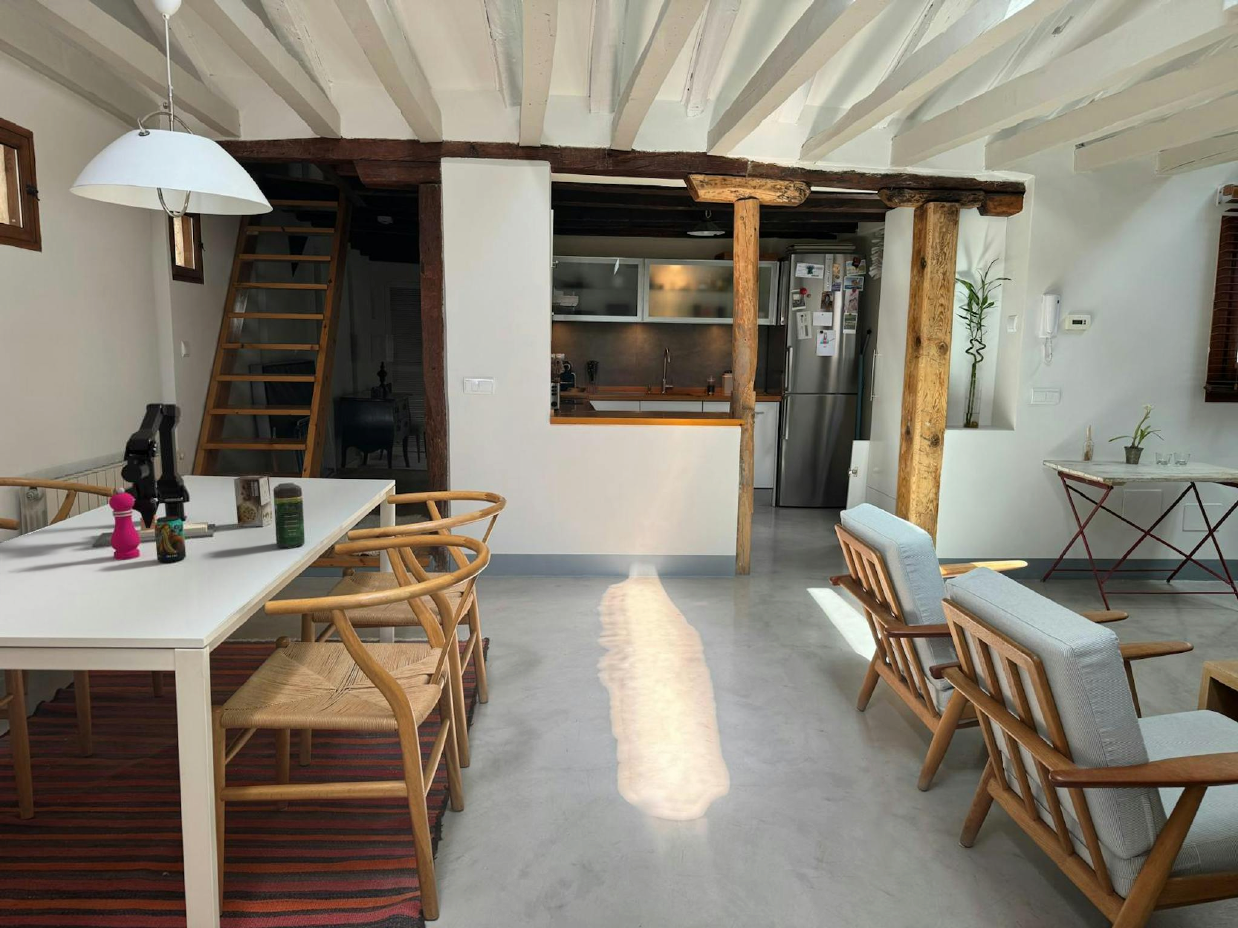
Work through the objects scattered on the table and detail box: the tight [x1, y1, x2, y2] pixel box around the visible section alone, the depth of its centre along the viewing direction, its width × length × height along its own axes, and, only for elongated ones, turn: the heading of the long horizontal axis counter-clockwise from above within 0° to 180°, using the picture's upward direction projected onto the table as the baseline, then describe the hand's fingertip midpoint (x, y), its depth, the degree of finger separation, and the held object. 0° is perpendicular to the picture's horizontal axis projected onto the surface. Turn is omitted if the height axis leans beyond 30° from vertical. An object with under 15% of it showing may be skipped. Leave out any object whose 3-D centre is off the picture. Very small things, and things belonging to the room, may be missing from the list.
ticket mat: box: [92, 521, 216, 548], centre depth 252 cm, size 16×32×2 cm, turn 114°
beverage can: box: [154, 516, 187, 564], centre depth 224 cm, size 7×7×12 cm
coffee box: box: [233, 475, 273, 527], centre depth 267 cm, size 9×6×16 cm
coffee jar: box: [272, 482, 306, 549], centre depth 240 cm, size 10×8×19 cm
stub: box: [138, 514, 158, 537], centre depth 251 cm, size 8×6×6 cm
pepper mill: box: [108, 487, 141, 561], centre depth 226 cm, size 7×7×20 cm
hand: (149, 526), depth 251 cm, fingers closed on stub, 4 cm apart
